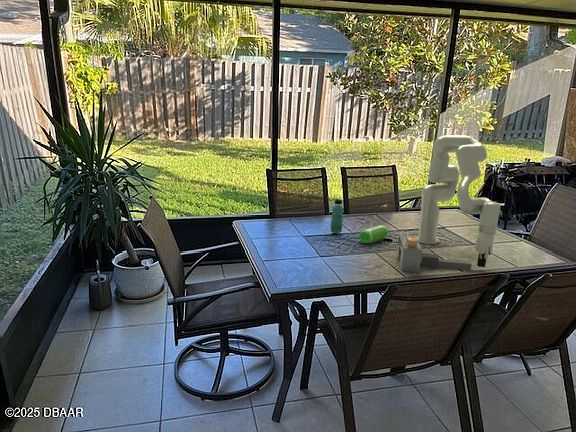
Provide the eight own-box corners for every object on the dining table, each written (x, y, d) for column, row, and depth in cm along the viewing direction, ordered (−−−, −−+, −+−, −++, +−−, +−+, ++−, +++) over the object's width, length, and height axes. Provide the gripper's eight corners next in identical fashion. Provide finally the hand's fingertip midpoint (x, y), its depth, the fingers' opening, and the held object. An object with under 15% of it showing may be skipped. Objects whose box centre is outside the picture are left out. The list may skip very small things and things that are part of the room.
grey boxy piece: (396, 255, 211) (399, 228, 207) (412, 256, 210) (416, 229, 206) (401, 270, 191) (404, 241, 188) (419, 272, 190) (422, 243, 187)
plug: (416, 262, 202) (417, 252, 201) (468, 266, 199) (470, 256, 198) (417, 266, 198) (419, 256, 196) (471, 270, 195) (472, 260, 193)
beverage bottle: (328, 232, 242) (330, 198, 236) (338, 231, 244) (340, 198, 239) (333, 236, 236) (335, 201, 231) (343, 235, 238) (346, 200, 233)
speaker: (369, 245, 223) (370, 232, 221) (358, 242, 228) (359, 229, 226) (388, 239, 234) (389, 226, 232) (377, 235, 240) (379, 223, 237)
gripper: (473, 223, 198) (468, 259, 203) (483, 233, 184) (477, 272, 189) (490, 224, 197) (484, 261, 203) (501, 234, 183) (494, 273, 188)
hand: (480, 266), depth 196 cm, fingers closed
